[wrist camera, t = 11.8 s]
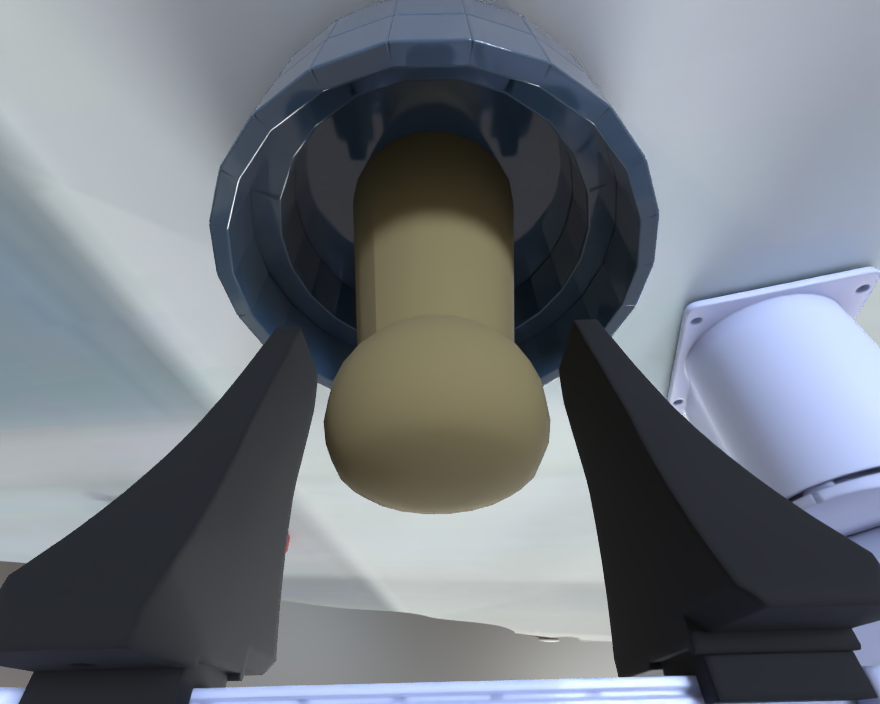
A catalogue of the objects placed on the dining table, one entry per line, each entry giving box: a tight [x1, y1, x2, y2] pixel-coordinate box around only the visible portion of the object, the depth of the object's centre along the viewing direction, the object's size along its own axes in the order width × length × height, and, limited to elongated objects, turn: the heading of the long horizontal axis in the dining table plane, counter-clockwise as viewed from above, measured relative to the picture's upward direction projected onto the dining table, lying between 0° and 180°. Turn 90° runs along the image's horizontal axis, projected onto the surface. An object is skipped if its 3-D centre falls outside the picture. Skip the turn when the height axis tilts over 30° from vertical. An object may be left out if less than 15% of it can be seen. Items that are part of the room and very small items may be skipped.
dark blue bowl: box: [209, 0, 659, 389], centre depth 15 cm, size 13×13×5 cm
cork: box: [324, 132, 550, 514], centre depth 13 cm, size 6×6×11 cm
